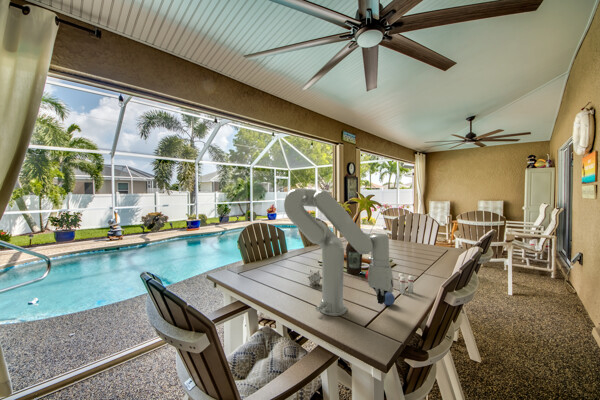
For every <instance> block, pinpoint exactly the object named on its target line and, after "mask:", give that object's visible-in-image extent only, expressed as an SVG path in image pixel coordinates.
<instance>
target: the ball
mask: <svg viewBox="0 0 600 400" xmlns="http://www.w3.org/2000/svg"><path fill="white" fill-rule="evenodd" d="M395 300H396V298H395V295H394V294H393V292H392V293H386V294H385V302H384V303H383V304H385V305H386V306H392V305H393V304H394V303H395Z"/></svg>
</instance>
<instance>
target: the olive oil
mask: <svg viewBox="0 0 600 400" xmlns="http://www.w3.org/2000/svg"><path fill="white" fill-rule="evenodd" d="M345 255H346V256H345V258H346V259H345V261H346V273H347V274H349V275H351V276H353V275H354V276H355V275H356V276H358V275H360V274H359V273H360V272H361V273H362V269H363V267H362V266H363V264H362V261H363V254H360V253H358V252H357V251H356V250H355V249H354V248H353V247H352V246H351V244H350V243H349V242H348V243H347V244H346V248H345Z"/></svg>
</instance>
